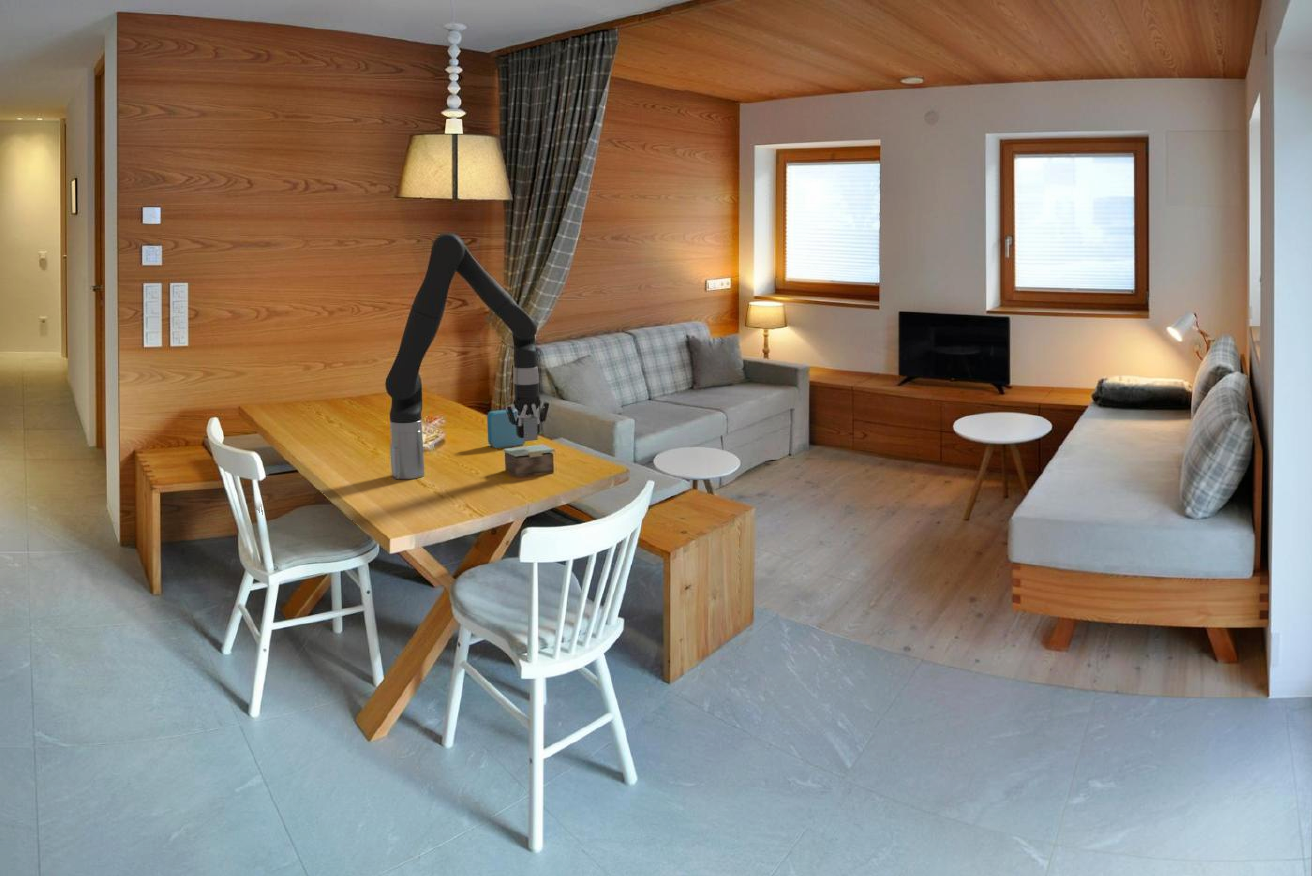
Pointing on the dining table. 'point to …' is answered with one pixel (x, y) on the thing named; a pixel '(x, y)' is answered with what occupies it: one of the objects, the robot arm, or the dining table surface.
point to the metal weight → (529, 428)
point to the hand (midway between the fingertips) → (528, 436)
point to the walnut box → (529, 465)
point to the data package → (502, 430)
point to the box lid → (529, 450)
